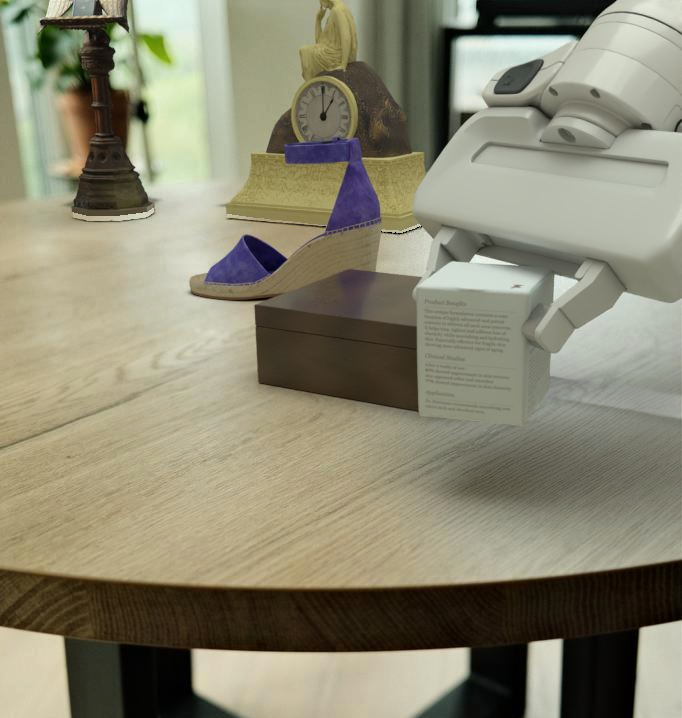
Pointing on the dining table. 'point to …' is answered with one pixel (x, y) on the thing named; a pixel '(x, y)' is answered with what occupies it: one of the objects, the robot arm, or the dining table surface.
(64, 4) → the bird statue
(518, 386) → the product box
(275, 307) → the low wooden riser
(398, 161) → the decorative clock
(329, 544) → the dining table surface
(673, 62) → the robot arm
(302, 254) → the sandal
